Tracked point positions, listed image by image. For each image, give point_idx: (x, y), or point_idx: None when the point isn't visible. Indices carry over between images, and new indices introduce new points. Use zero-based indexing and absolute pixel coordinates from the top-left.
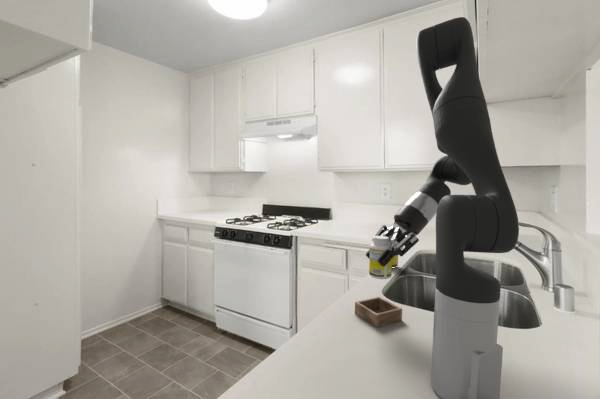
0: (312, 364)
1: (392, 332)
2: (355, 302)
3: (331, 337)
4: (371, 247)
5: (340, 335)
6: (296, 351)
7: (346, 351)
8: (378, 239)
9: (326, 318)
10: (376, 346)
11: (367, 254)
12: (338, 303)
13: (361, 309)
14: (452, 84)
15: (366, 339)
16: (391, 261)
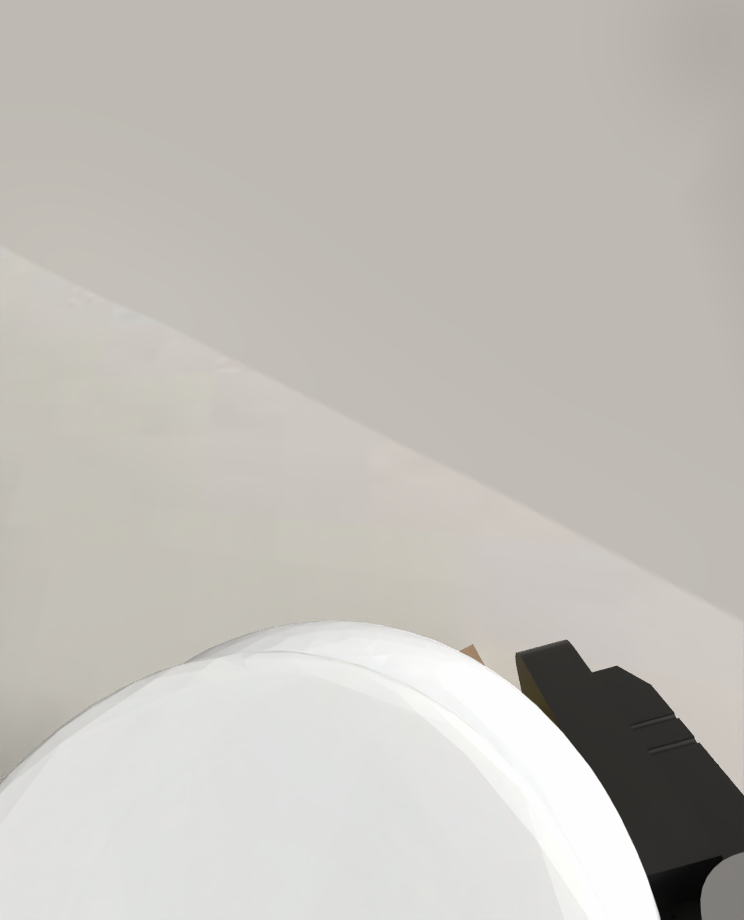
0: (10, 407)
1: None
2: (467, 647)
3: (184, 487)
4: (250, 637)
5: (196, 532)
6: (104, 352)
7: (58, 543)
8: (1, 802)
9: (385, 475)
10: (63, 708)
11: (521, 661)
12: (622, 567)
13: None
14: None
15: (138, 667)
16: None
